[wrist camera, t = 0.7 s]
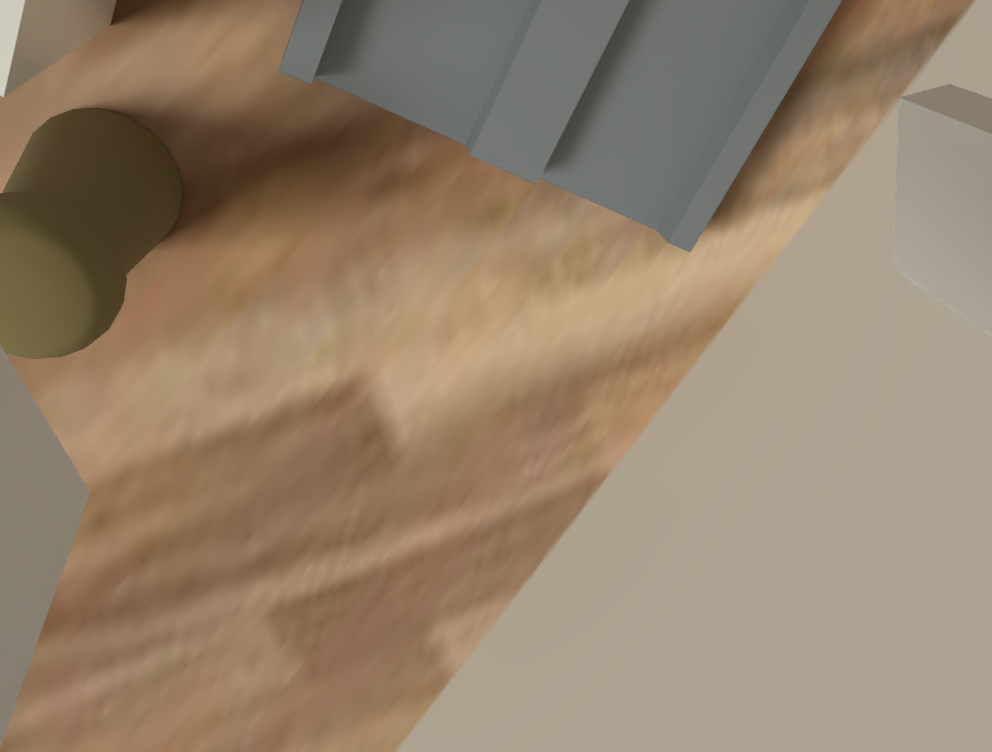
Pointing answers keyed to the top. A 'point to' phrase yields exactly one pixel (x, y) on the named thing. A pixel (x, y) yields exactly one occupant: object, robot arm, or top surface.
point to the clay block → (45, 34)
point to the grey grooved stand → (577, 87)
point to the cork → (79, 228)
